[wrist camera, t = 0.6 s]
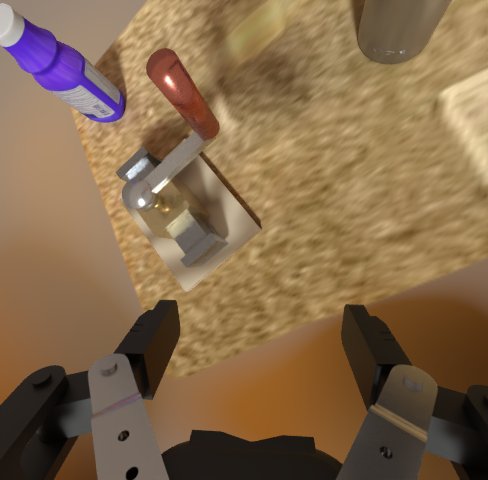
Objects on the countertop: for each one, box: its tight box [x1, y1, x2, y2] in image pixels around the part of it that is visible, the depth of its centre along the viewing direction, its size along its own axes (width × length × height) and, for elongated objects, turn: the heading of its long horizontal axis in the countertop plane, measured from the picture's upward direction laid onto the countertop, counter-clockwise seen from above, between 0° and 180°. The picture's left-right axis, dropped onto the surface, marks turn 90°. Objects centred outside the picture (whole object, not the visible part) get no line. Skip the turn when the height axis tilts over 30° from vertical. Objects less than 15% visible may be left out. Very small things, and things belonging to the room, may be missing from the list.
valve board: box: [120, 139, 262, 292], centre depth 40 cm, size 18×14×2 cm
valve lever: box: [122, 48, 220, 212], centre depth 24 cm, size 3×13×10 cm, turn 129°
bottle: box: [0, 3, 125, 122], centre depth 37 cm, size 7×6×17 cm
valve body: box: [116, 146, 229, 268], centre depth 35 cm, size 16×6×10 cm, turn 39°
